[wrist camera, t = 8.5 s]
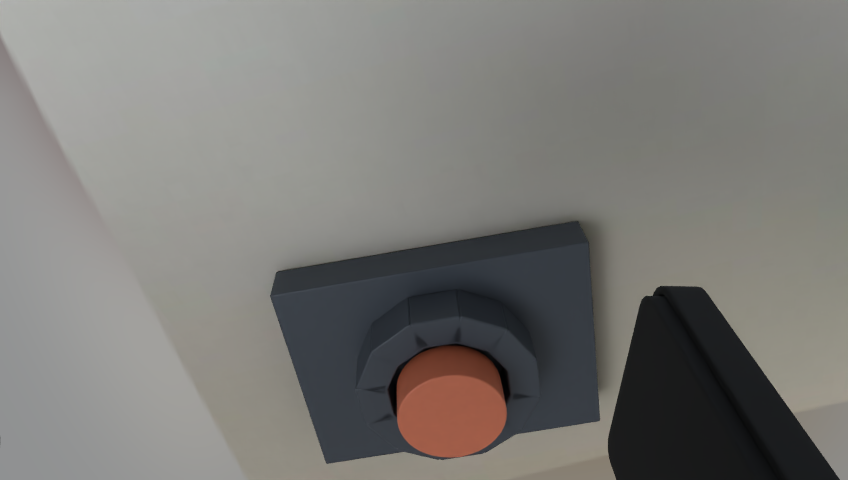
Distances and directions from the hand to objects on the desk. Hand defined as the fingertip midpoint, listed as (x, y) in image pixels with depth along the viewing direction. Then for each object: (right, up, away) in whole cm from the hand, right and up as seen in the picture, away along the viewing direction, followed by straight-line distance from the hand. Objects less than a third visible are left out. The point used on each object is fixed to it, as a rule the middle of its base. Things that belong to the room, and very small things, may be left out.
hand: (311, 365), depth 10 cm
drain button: (+3, -4, +17) cm, 18 cm away
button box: (+2, -2, +20) cm, 20 cm away
